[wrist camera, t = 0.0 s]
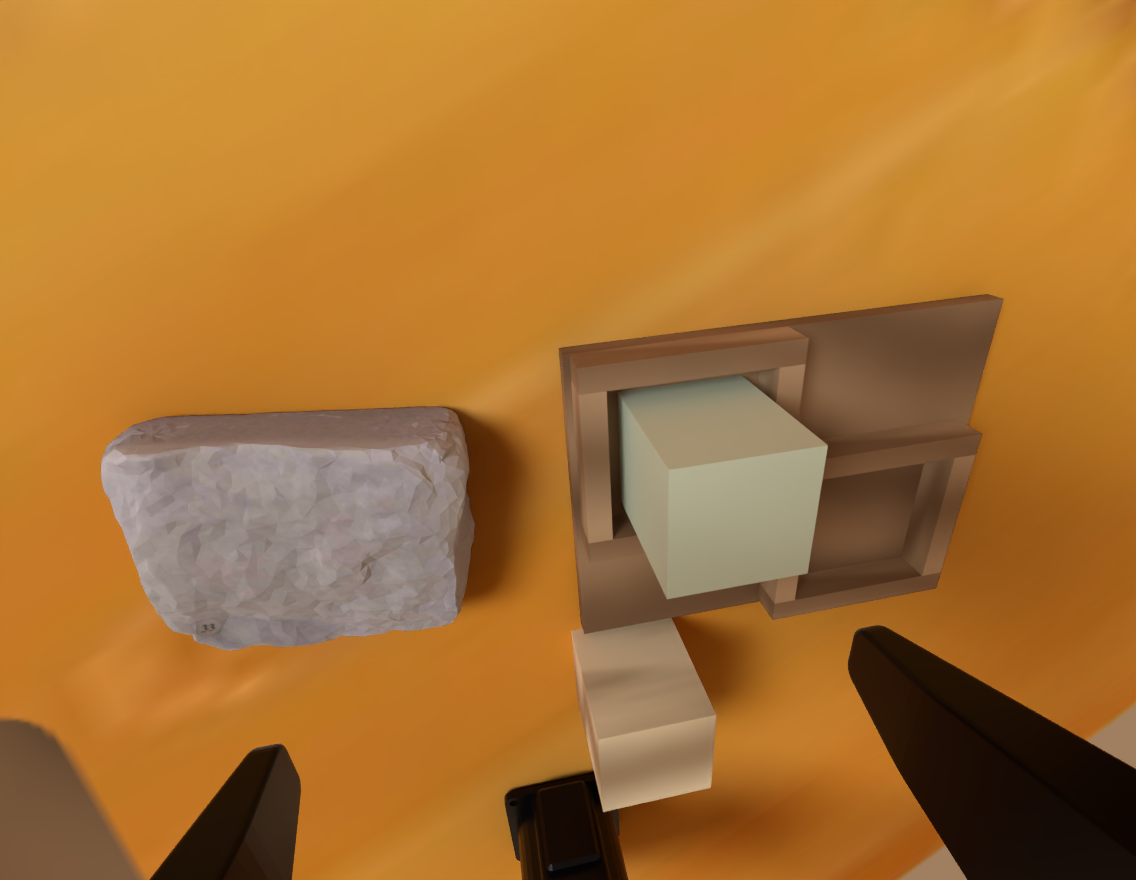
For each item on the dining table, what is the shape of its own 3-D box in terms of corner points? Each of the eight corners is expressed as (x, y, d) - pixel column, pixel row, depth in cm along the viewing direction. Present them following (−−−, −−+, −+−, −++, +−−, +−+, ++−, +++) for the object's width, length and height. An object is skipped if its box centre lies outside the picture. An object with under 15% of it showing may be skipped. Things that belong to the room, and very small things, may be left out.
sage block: (733, 483, 25) (807, 573, 20) (621, 500, 24) (667, 599, 19) (741, 375, 23) (827, 445, 18) (617, 392, 22) (668, 470, 17)
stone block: (479, 556, 28) (467, 381, 22) (480, 646, 24) (467, 466, 18) (214, 574, 26) (120, 391, 20) (173, 673, 23) (42, 486, 16)
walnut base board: (916, 559, 31) (948, 589, 29) (581, 621, 28) (590, 658, 26) (987, 294, 24) (1036, 308, 22) (558, 348, 22) (569, 369, 20)
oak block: (667, 679, 32) (710, 787, 26) (577, 698, 31) (603, 812, 26) (668, 611, 29) (716, 715, 24) (571, 629, 29) (598, 739, 23)
